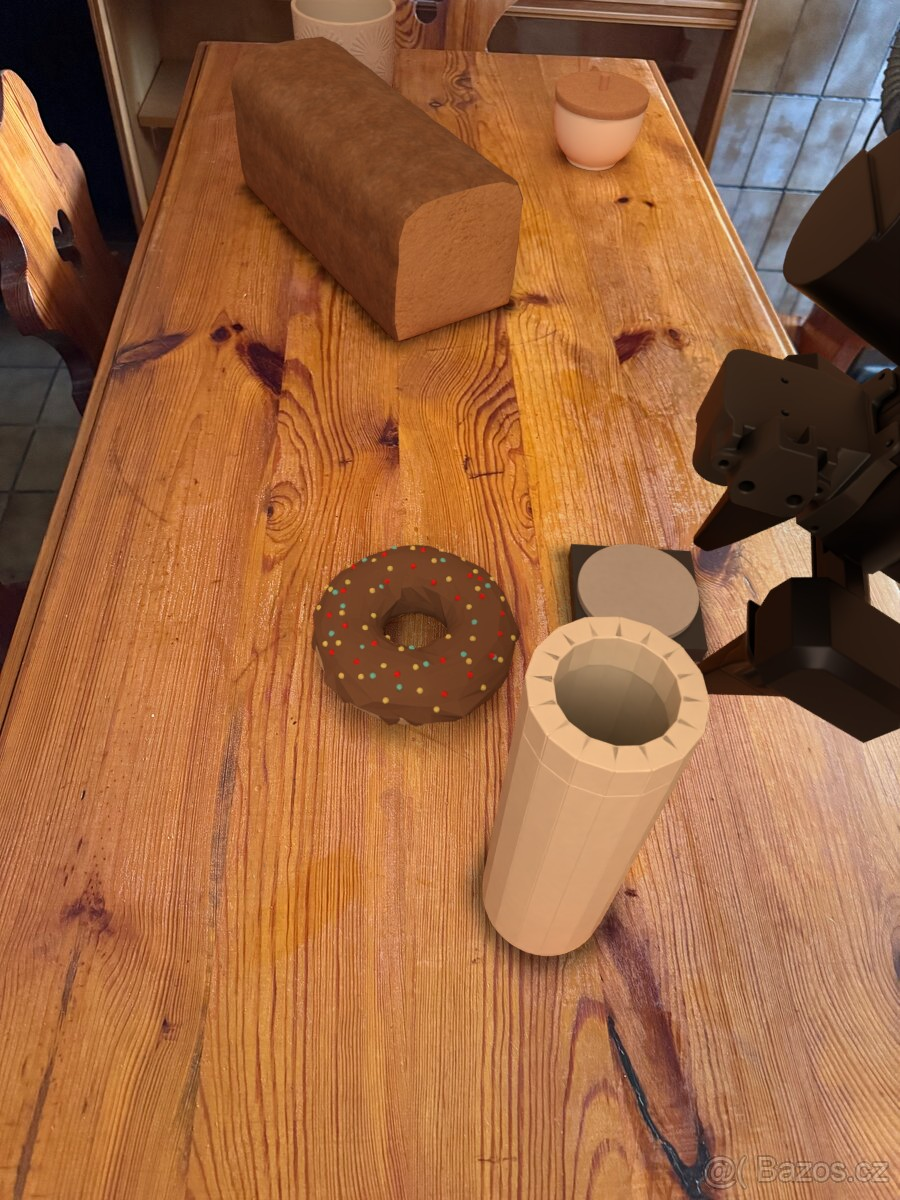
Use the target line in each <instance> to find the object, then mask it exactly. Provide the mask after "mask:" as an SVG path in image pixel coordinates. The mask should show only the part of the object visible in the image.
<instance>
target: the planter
mask: <svg viewBox="0 0 900 1200" xmlns="http://www.w3.org/2000/svg"><path fill="white" fill-rule="evenodd" d="M290 9H291V19H292V27H293V36H294V38H293V39H294V40H298V39H305V38H314V37H324V38H326V39H328V40H331V41H333V42H335V43H337V44H339V45H340V46H342V47H343V48H344V49H346V50H347V51H348V52H349V53H350V54H352V55H353V56H354V57H355V58H356V59H358V60H359V61H360V62H361V63H363V64H364V65H365V66H367V67H368V68H369V69H371V70H372V71H373V72H375V73H376V74H377V75H378V76H379V77H380V78H382V79H383V80H384V81H385V82H386V83H388V84H389V85H390V86H391V87H392V88H393V82H394V72H395V57H396V56H395V55H396V29H397V28H396V26H397V25H396V23H397V22H396V21H397V4H396V2H395V1H394V0H291V2H290Z"/></svg>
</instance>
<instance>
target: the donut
mask: <svg viewBox="0 0 900 1200" xmlns="http://www.w3.org/2000/svg"><path fill="white" fill-rule="evenodd" d="M323 590H324V592H323V594H322V596H321V597H320V599H319V601H318V603H317V605H316V607H315V609H314V610H313V612H312V619H313V620H312V621H313V625H314V629H313V635H312V639H311V648H312V650H313V651H314V652H315V653H316V657H317V660H318V663H319V666H320V667H321V669H322V671H323V673H324V674H323V683H325V685H326V686H327V687H329V689H330V690H332V691H333V692H334V694H336V695H337V696H338V697H339V698H340V700H341V701H342V702H343V703H344V704H350V705H351V706H352V707H354V708H355V709H357V710H360V711H361V712H363V713H365V714H367V715H370V716H371V717H373V718H374V719H377V720H382V721H383V723H385V724H386V725H387V726H393V725H397V724H398V725H403V726H404V725H405V726H406V725H407V726H414V727H419V726H430V725H434V724H438V723H439V724H440V723H449V722H456V721H459V720H461V719H463V718H465V717H467V716H469V715H470V714H472V713H473V712H474V711H476V710H477V709H479V708H480V707H481V706H483V705H484V704H486V703H487V702H488V701H489V700H491V699H492V698H493V697H494V696H495V694H496V693H497V692H498V691H499V690H500V689H501V688H502V687H503V685H504V684H505V682H506V681H507V679H508V677H509V673H510V669H511V667H512V664H513V660H514V656H515V652H516V647H517V642H518V641H519V639H520V637H521V635H522V633H521V631H520V629H519V626H518V624H517V620H516V619H515V616H514V613H513V611H512V608H511V605H510V603H509V600H508V598H507V596H506V593H505V591H504V590H502V588H501V587H500V585H499V584H498V583H497V582H496V578H495V577H494V576H492V575H491V574H490V573H489V572H488V571H487V570H486V569H485V568H484V567H483V566H481V565H478V564H476V563H474V562H472V561H469V560H468V559H466V558H465V557H463V556H462V557H461V556H458V554H455V553H452V552H449V551H445V549H443V548H437V547H433V546H431V545H427V544H426V545H424V543H423V542H418V543H417V544H407V545H400V546H396V545H392V546H391V548H389V549H385V550H381V551H379V552H375V553H371V554H369V555H367V556H366V557H363V558H361V559H360V560H359V561H357V562H355V563H353V564H350V563H349V564H347V565H346V568H344V569H343V570H341V571H340V572H338V573H337V574H336V575H335V576H334V577H333V579H332V580H331V581H330V582H329V584H325V585H324V587H323ZM417 614H419V615H424V616H426V617H429V618H433V619H435V620H437V621H438V622H439V623H440V624H441V625H442V626H443V627H444V628H445V629H446V632H445V633H446V634H445V635H444V636H443V637H439V638H434V639H432V640H431V641H430V642H428V643H427V644H426V645H423V646H420V647H416V646H414V645H412V644H410V645H409V646H406V645H399V644H396V643H394V642H393V641H392V640H391V636H390V635H388V634H386V635H385V628H386V626H387V625H389V623H391V622H392V621H393V620H394V619H397V618H399V617H401V616H406V615H417Z"/></svg>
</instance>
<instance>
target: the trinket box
mask: <svg viewBox="0 0 900 1200" xmlns="http://www.w3.org/2000/svg"><path fill="white" fill-rule="evenodd" d="M650 98H651V96H650V93H649V91H648V88H646V86H645V85H644V84H643V83H641V82H639V81H637V80H636V79H634V78H632V77H629V76H627V75H623V74H620V73H617V72H611V71H605V70H584V71H583V70H582V71H577V72H571V73H569V74H566V75H564V76H563V77H562V78H560V79H559V80H558V82H557V83H556V85H555V90H554V106H553V129H554V130H553V131H554V135H555V139H556V142H557V144H558V147H559V148H560V150H561V151H562V153H563V154H564V155H565V158H566V160H567V161H568V163H569V164H571V165H572V166H574V167H576V168H579V169H582V170H587V171H592V172H593V171H594V172H595V171H596V172H597V171H599V172H600V171H606V170H609V169H612V168H613V167H614V166H615V165H616V164H617V163H618V162H619V161H621V160H622V159H623V158H625V157H626V156H627V154H628V153H630V151H632V149H633V147H634V145H635V144H636V142H637V140H638V137H639V136H640V133H641V131H642V127H643V124H644V120H645V116H646V111H647V109H648V107H649V101H650Z"/></svg>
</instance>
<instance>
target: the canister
mask: <svg viewBox="0 0 900 1200" xmlns="http://www.w3.org/2000/svg"><path fill="white" fill-rule="evenodd" d="M518 703H519V704H518V707H517V712H516V717H515V722H514V726H513V731H512V737H511V741H510V745H509V751H508V755H507V760H506V765H505V770H504V775H503V779H502V784H501V789H500V793H499V799H498V802H497V803H498V804H497V808H496V812H495V818H494V823H493V826H492V833H491V836H490V840H489V841H490V842H489V846H488V851H487V856H486V862H485V866H484V870H483V875H482V901H483V906H484V909H485V912H486V916H487V917H488V919H489V921H490V923H491V925H492V926H493V928H494V929H495V931H496V932H497V933H498V934H499V935H500V937H502V938H503V939H504V940H505V941H506V942H507V943H509V944H510V945H511V946H513V947H515V948H516V949H519V950H521V951H523V952H525V953H528V954H531V955H535V956H536V955H537V956H542V957H552V956H553V957H554V956H559V955H564V954H567V953H569V952H573V951H574V950H576V949H578V948H579V947H582V945H584V944H585V943H586V942H587V941H588V940H589V939H590V938H591V937H592V935H593V934H594V933H595V931H596V930H597V928H598V927H599V926H600V925H601V923H602V921H603V919H604V917H605V916H606V913H608V912H607V911H608V910H609V908H610V906H611V905H612V903H613V901H614V899H615V897H616V895H617V894H618V892H619V890H620V888H621V886H622V885H623V883H624V881H625V879H626V877H627V876H628V874H629V871H630V870H631V868H632V866H633V865H634V862H635V861H636V860H637V857H638V855H640V854H639V853H640V851H641V850H642V849H643V846H644V845H645V843H646V841H647V839H648V837H649V835H650V833H652V831H653V830H652V829H653V828H654V826H655V824H656V822H657V821H658V819H659V817H660V815H661V813H662V811H664V808H665V806H666V805H667V802H668V800H669V799H670V797H671V795H672V794H673V791H674V790H675V788H676V787H677V784H678V783H679V781H680V779H681V777H682V775H683V773H684V771H685V770H686V768H687V766H688V764H689V762H690V760H691V759H692V757H693V755H694V753H695V751H696V749H697V747H698V746H699V744H700V742H701V741H702V738H703V737H704V735H705V733H706V728H707V723H708V719H709V713H710V708H711V701H710V697H709V694H708V693H707V689H706V685H705V682H704V678H703V674H702V673H701V671H700V669H699V668H698V667H697V663H696V662H693V660H692V659H691V658H690V656H689V655H688V654H687V652H686V651H685V650H684V648H683V647H681V645H680V644H678V643H677V642H675V641H674V640H672V639H671V638H669V637H668V636H666V635H665V634H663V633H662V632H661V631H659V630H658V629H656V628H655V627H653V626H650V625H647V624H644V623H640V622H637V621H634V620H631V619H627V618H624V617H587V618H586V617H584V618H582V619H579V620H576V621H573V622H572V621H571V622H568V623H565V624H562V625H560V626H558V627H557V628H555V629H554V630H553V631H552V632H550V633H549V635H548V636H547V637H545V638H544V640H542V641H541V642H540V643H539V644H538V645H537V646H536V647H535V648H534V650H533V652H532V655H531V657H530V660H529V663H528V666H527V669H526V672H525V674H524V678H523V683H522V688H521V694H520V698H519V702H518Z"/></svg>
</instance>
